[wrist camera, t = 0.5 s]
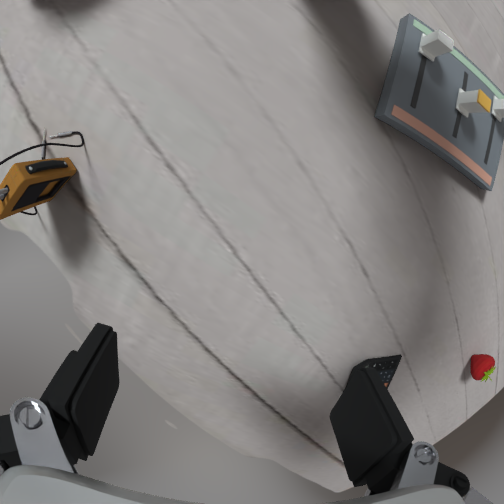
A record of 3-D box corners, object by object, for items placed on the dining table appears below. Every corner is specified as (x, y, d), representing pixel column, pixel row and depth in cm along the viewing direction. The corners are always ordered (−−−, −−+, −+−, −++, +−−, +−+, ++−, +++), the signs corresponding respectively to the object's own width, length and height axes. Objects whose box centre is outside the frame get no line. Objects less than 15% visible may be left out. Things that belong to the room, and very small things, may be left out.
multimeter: (65, 106, 31) (-31, 92, 12) (95, 153, 34) (-3, 163, 15) (13, 170, 33) (-75, 193, 14) (39, 215, 36) (-48, 258, 17)
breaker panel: (400, 19, 29) (409, 13, 26) (498, 100, 33) (509, 99, 30) (374, 116, 34) (384, 114, 31) (480, 188, 38) (491, 191, 35)
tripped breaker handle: (459, 88, 29) (480, 84, 24) (470, 98, 30) (491, 96, 25) (455, 108, 31) (477, 106, 26) (466, 117, 31) (488, 117, 26)
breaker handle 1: (421, 33, 27) (439, 24, 22) (435, 43, 27) (454, 36, 22) (418, 51, 28) (437, 43, 23) (432, 61, 28) (451, 55, 24)
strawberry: (481, 355, 53) (501, 376, 44) (461, 370, 54) (480, 393, 44) (482, 341, 51) (504, 362, 42) (462, 357, 52) (483, 381, 43)
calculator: (385, 386, 52) (390, 395, 49) (338, 393, 51) (342, 403, 49) (400, 353, 49) (406, 362, 46) (349, 359, 48) (354, 369, 46)
